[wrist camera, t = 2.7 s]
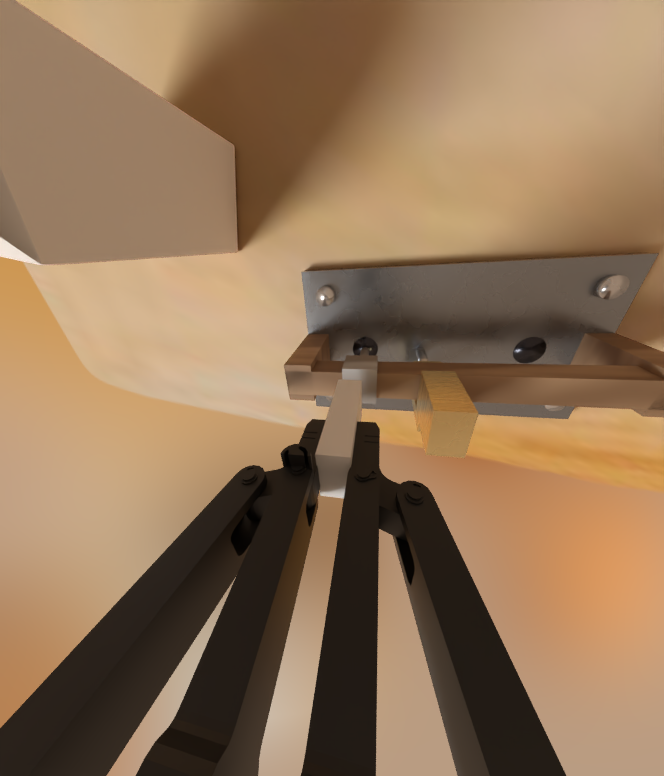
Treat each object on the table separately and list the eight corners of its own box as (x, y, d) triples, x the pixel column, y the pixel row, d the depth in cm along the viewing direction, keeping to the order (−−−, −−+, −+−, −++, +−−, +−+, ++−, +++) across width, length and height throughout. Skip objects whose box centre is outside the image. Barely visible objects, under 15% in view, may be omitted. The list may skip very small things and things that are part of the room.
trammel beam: (308, 334, 23) (282, 366, 17) (614, 333, 19) (724, 375, 13) (311, 362, 25) (289, 400, 19) (596, 367, 20) (686, 420, 14)
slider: (410, 335, 21) (433, 410, 12) (434, 335, 21) (478, 413, 11) (406, 372, 23) (424, 463, 14) (428, 373, 23) (462, 467, 13)
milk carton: (148, 128, 18) (-1465, -660, 2) (236, 145, 18) (-967, -660, 2) (166, 237, 22) (-396, 222, 6) (239, 253, 22) (-156, 282, 6)
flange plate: (304, 270, 22) (299, 272, 20) (644, 252, 17) (667, 253, 16) (318, 401, 29) (315, 409, 27) (561, 412, 24) (572, 423, 23)
